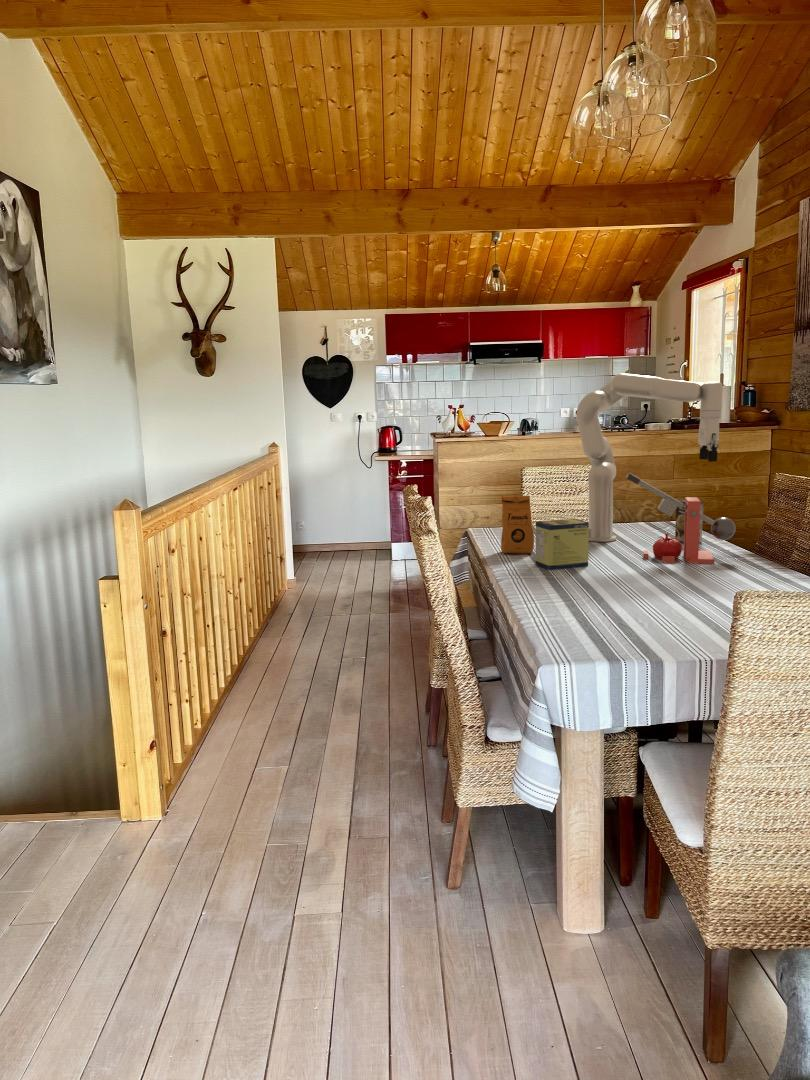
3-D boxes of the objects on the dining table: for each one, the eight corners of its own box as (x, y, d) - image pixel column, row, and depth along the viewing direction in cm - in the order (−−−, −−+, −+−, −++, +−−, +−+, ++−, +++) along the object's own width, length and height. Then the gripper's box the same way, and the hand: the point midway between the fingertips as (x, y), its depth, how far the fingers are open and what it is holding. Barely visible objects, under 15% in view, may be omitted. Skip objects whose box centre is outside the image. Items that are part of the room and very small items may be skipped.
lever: (620, 488, 278) (634, 466, 276) (620, 486, 286) (633, 464, 283) (726, 548, 272) (741, 526, 270) (723, 544, 280) (738, 522, 277)
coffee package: (534, 555, 294) (534, 496, 290) (500, 555, 296) (500, 497, 292) (533, 550, 304) (533, 493, 300) (501, 550, 306) (500, 494, 302)
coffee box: (674, 539, 317) (675, 500, 314) (687, 538, 319) (689, 499, 316) (688, 543, 308) (690, 502, 306) (702, 542, 310) (704, 501, 307)
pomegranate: (676, 562, 275) (677, 536, 273) (648, 559, 281) (649, 534, 279) (685, 557, 283) (686, 531, 281) (658, 554, 289) (658, 529, 287)
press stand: (644, 562, 276) (645, 501, 273) (643, 553, 292) (644, 496, 288) (714, 563, 270) (716, 502, 267) (709, 554, 286) (711, 496, 282)
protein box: (589, 566, 273) (589, 521, 270) (548, 570, 268) (548, 525, 265) (573, 560, 282) (574, 518, 280) (534, 564, 278) (534, 521, 275)
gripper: (693, 414, 307) (690, 458, 310) (708, 415, 290) (705, 462, 293) (712, 414, 307) (710, 458, 310) (728, 415, 290) (726, 462, 293)
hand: (707, 460), depth 301 cm, fingers open, 9 cm apart
